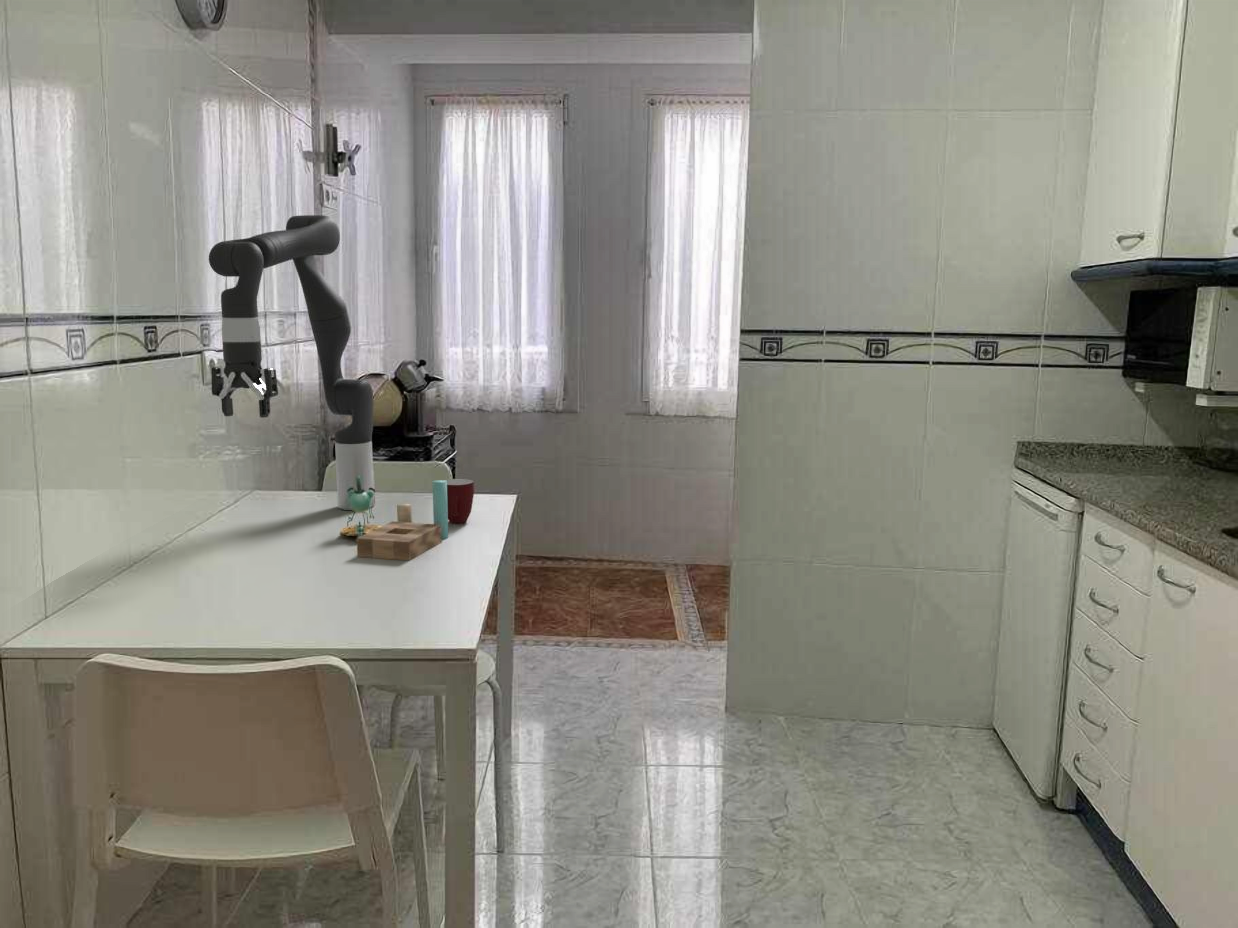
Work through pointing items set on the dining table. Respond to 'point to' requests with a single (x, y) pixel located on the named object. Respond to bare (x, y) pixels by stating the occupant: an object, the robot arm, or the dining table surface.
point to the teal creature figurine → (359, 510)
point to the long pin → (440, 506)
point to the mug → (459, 499)
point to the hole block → (399, 540)
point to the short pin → (404, 513)
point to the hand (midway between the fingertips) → (246, 416)
